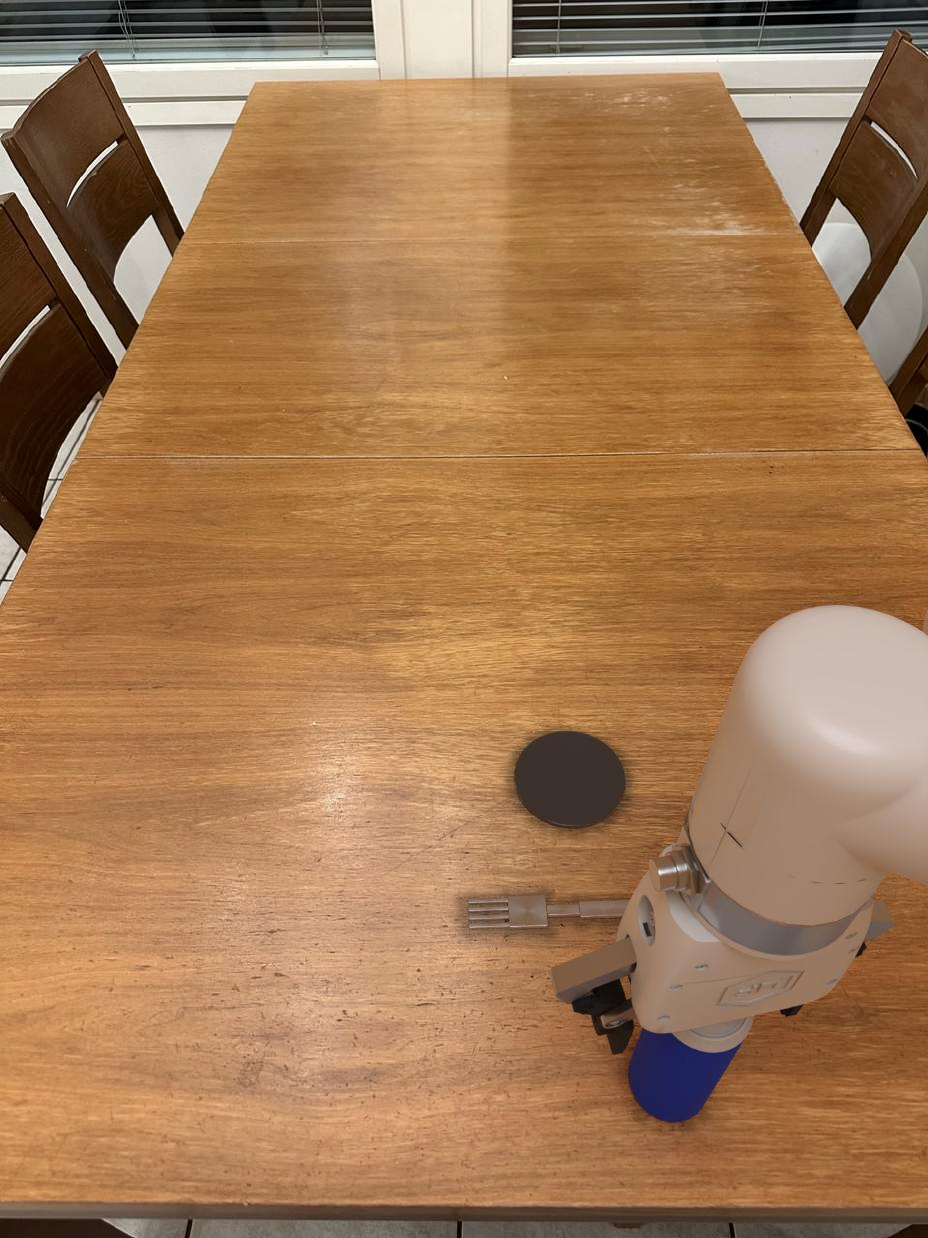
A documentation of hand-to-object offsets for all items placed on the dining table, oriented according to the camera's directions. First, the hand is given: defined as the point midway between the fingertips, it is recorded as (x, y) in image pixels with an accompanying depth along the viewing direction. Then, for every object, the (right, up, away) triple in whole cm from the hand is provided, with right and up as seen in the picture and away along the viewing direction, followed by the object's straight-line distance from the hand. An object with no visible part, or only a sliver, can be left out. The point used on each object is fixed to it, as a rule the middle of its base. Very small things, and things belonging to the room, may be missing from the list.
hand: (694, 1007), depth 52 cm
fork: (-3, 0, +18) cm, 18 cm away
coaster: (-4, +8, +25) cm, 27 cm away
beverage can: (+1, -9, +10) cm, 13 cm away
